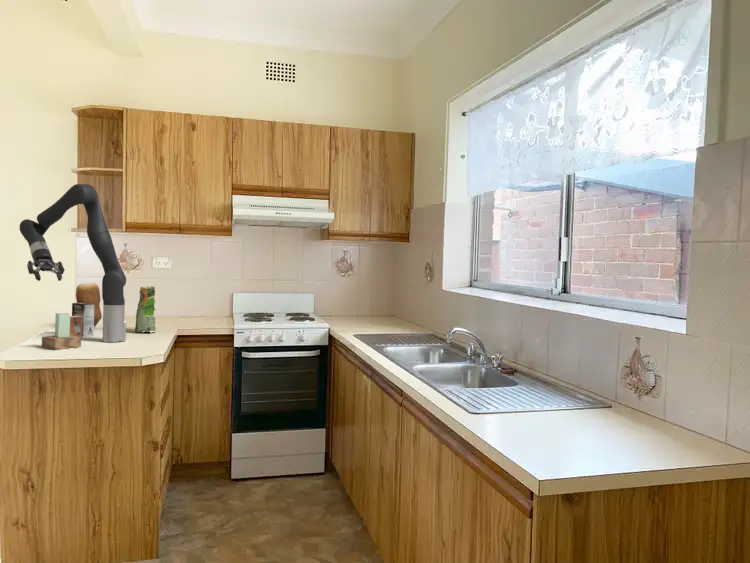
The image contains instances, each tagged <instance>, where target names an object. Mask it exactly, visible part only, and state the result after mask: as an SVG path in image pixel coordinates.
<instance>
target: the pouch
mask: <svg viewBox="0 0 750 563" xmlns="http://www.w3.org/2000/svg"><path fill="white" fill-rule="evenodd" d="M155 289H156V287H155V286H148V285H147V286H146V287H144V286H140V289H139V301H138V303H137V309H136V315H135V326H134V327H135V328H134V332H137V333H141V332H140V331H145V332H150V331H155V332H156V329H157V328H156V318H155V314H154V313H155V310H156V308H155V303H156V301H155V295H156V294H155V293H156V290H155Z"/></svg>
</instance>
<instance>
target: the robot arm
mask: <svg viewBox="0 0 750 563" xmlns="http://www.w3.org/2000/svg"><path fill="white" fill-rule="evenodd" d="M78 205H83V207H84V209H85V212H86V215H87V224H86V233H87V234H86V235H87V237H88V240H89V243H90V245H91V247H92V250H93V252H94V253H95V254H96V256H97V258H98V260H99V261H100V263H101V266H102V268H103V272H104V275H103V276H102V279H101V293H102V294H101V297H102V302H103V304H102V305H103V306H102V311H103V312H102V342H104V343H120V342H119V341H122V342H125V341H124V340H126V341H127V320H125V308H126V307H125V304H126V303H125V302H126V300H125V296H124V287H125V286H126V284H127V276H126V275H125V271H123V268H122V266H121V264H120V262H119V260H118V257H117V254H116V253H117V252H116V250H115V246H114V243H113V239H112V236H111V233H110V230H109V229H108V226H107V224H106V219H105V216H104V214H103V211H102V208H101V203H100V198H99V195H98V191H97V189H96V188H95V187H94V186H93V185H91V184H88V183H76V184H74V185H72V186H71V187H69V189H68V190H67V191H66V192H65V193H64V194H63V195H62V196H61V197H60V198H59V199H58V200H56V202H54V203H53V204H52V205H51V206H48V208H46V209H44V210H43V211H42V212H40V213H39V214H38V215H37V216H36V221H37V222H36V221H34V220H32V219H30V218H29V219H28V218H27V219H23V220H22V221H21V222H20V223H19V231H20V234H21V235H22V237H23V238H24V239H25V240H26V242H27V243H28V246H29V250H30V255H31V258H32V260H33V261H32V260H28V261H27V264H26V266H27V271H28V274H30V275H34V278H35V280H37V282H40V281H41V274H40V272H41V271H42V272H51V273H52V274H55V275H56V278H57V281H58V282H61V281H62V279H63V274H65V271H66V270H65V268H64V266H63V263H62V261H57V262H54V260H53V256H52V254H51V251H50V249H49V248H50V247H49V246H48V244H47V242H46V239H45V237H44V235H45V233H47V231H48V229H50V227H51V226H52V225H54V224H56V223H57V222H59V220H61V219H62V218H63V217H64V216H65V214H66V213H67V212H68V210H70V209H72V208H73V207H75V206H78ZM34 267H35V268H36V269H34Z"/></svg>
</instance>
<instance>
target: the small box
mask: <svg viewBox="0 0 750 563" xmlns="http://www.w3.org/2000/svg"><path fill="white" fill-rule="evenodd" d="M69 335H72V336H78V337H81V338H82V336H81V335H82V316H72V315H70V333H69Z"/></svg>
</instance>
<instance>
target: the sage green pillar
mask: <svg viewBox="0 0 750 563" xmlns="http://www.w3.org/2000/svg"><path fill="white" fill-rule="evenodd" d="M70 316H71V313H68V312H66V313H65V312H62V313H61V312H56V313H55V322H54V324H55V325H54V336H55V337H58V338H59V337H69V333H70Z"/></svg>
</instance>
